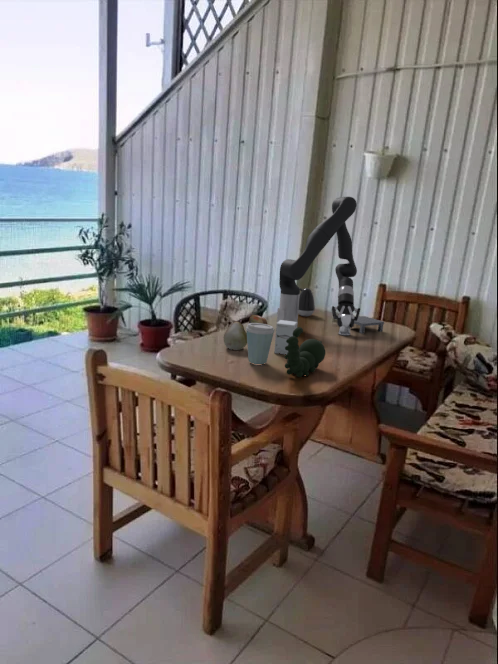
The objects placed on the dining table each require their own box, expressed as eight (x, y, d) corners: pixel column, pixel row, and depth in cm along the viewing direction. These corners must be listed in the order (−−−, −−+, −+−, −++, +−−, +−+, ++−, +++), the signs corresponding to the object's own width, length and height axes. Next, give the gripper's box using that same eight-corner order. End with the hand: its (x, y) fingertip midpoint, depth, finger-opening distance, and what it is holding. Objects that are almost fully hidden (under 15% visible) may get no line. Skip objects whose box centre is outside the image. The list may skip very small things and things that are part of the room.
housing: (343, 335, 237) (345, 316, 235) (336, 333, 242) (338, 313, 240) (352, 335, 240) (354, 315, 238) (345, 332, 245) (347, 313, 242)
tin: (247, 330, 239) (248, 312, 237) (253, 330, 240) (254, 312, 238) (261, 338, 226) (262, 319, 224) (268, 337, 227) (269, 319, 225)
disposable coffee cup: (255, 357, 196) (258, 319, 193) (278, 363, 190) (280, 325, 186) (238, 362, 188) (240, 323, 185) (260, 369, 182) (263, 329, 178)
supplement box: (273, 353, 203) (275, 322, 200) (278, 349, 210) (280, 319, 207) (291, 356, 201) (294, 325, 198) (295, 351, 208) (297, 321, 205)
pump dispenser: (304, 312, 287) (306, 286, 283) (317, 316, 279) (320, 289, 275) (291, 314, 280) (293, 287, 276) (305, 318, 273) (307, 290, 269)
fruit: (250, 347, 209) (251, 319, 207) (244, 353, 201) (245, 324, 198) (226, 344, 212) (228, 316, 209) (219, 350, 203) (220, 321, 200)
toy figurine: (301, 388, 170) (331, 364, 190) (304, 334, 164) (334, 315, 184) (276, 382, 175) (308, 359, 195) (277, 329, 168) (310, 311, 189)
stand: (361, 333, 244) (362, 323, 243) (342, 327, 256) (343, 317, 254) (383, 331, 251) (384, 321, 250) (363, 325, 262) (364, 316, 261)
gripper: (332, 291, 244) (331, 321, 236) (362, 293, 243) (362, 323, 234) (330, 300, 251) (329, 329, 242) (359, 302, 250) (359, 331, 241)
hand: (345, 326), depth 238 cm, fingers closed on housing, 5 cm apart
